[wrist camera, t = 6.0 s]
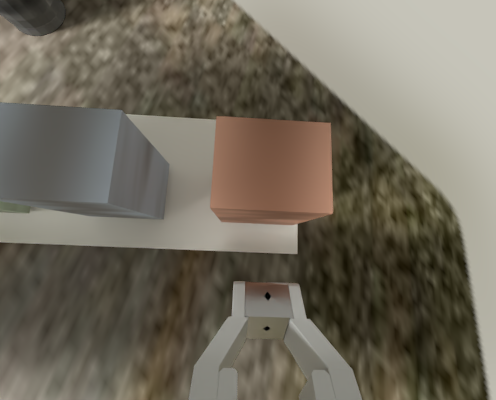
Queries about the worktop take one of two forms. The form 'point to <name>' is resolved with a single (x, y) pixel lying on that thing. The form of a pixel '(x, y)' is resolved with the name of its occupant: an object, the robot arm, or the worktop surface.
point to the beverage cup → (34, 15)
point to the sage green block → (13, 208)
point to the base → (176, 206)
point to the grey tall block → (80, 162)
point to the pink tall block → (271, 171)
